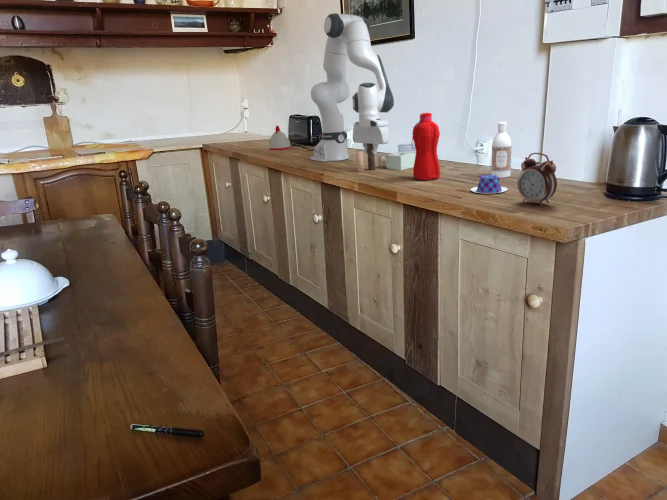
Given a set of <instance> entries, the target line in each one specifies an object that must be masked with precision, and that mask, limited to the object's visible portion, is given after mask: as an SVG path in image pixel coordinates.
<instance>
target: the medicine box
mask: <svg viewBox="0 0 667 500" xmlns="http://www.w3.org/2000/svg"><path fill="white" fill-rule="evenodd" d="M397 147H398V150H397V151H398V153H399V152H405V153H415V157H416V149H415V144H414V143H403V144H402V143H401V144H400V143H399V144H398V145H397ZM412 147H413V149H414V150H413V149H412Z"/></svg>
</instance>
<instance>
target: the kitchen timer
mask: <svg viewBox="0 0 667 500" xmlns="http://www.w3.org/2000/svg"><path fill="white" fill-rule="evenodd" d="M274 129H275V130H274V132H273V134H272V135H271V136H270V139H268V150H269V149H270V150H282V151H284V150H283V149H288V148H292V147H291V143H290V139H289V137H288V136H287V135H286V133H284V132H283V131H281V128H280V126H279V125H276V126H275V128H274ZM288 150H289V149H288Z"/></svg>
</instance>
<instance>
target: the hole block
mask: <svg viewBox="0 0 667 500" xmlns="http://www.w3.org/2000/svg"><path fill="white" fill-rule="evenodd" d="M385 155H386V156H385V165H386V169H388V170H389V169H390V170H397V171H403V170H407V169H410V168H414V162H415V153H405V152H399V151H398V152H395V153H388V154H385Z"/></svg>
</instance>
